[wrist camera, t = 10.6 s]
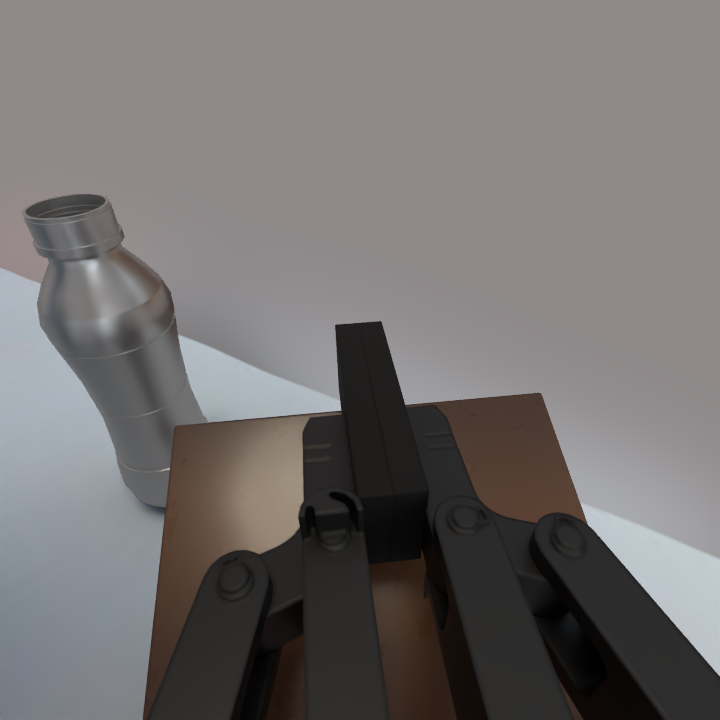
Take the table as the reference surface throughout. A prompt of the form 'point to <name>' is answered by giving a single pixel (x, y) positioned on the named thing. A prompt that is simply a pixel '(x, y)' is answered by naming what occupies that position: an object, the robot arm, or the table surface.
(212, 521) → the lid
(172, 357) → the silver bottle
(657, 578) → the table surface
